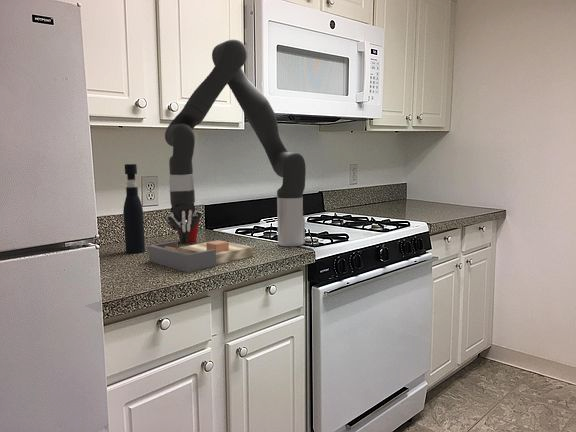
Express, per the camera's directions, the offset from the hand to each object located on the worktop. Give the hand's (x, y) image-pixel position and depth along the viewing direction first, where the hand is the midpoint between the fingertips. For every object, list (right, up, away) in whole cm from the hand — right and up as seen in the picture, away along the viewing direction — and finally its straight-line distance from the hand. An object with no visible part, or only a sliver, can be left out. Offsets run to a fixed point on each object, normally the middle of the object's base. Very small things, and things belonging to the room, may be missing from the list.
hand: (184, 243), depth 155 cm
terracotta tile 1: (-2, -2, -3) cm, 4 cm away
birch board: (+9, -5, +5) cm, 11 cm away
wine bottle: (-20, -4, +13) cm, 24 cm away
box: (0, -6, -5) cm, 8 cm away
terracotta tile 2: (+10, -2, 0) cm, 11 cm away
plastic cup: (-5, -1, +29) cm, 29 cm away
